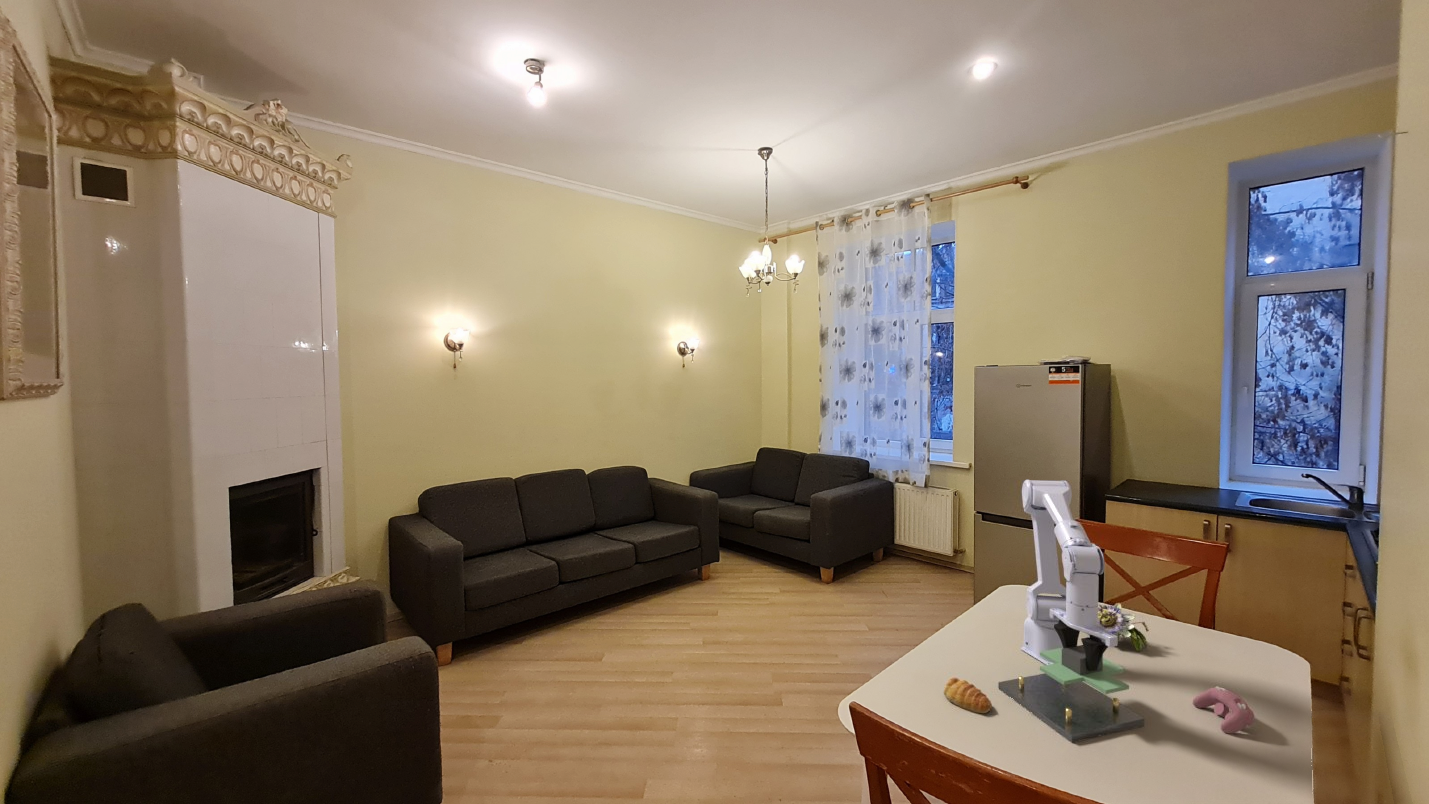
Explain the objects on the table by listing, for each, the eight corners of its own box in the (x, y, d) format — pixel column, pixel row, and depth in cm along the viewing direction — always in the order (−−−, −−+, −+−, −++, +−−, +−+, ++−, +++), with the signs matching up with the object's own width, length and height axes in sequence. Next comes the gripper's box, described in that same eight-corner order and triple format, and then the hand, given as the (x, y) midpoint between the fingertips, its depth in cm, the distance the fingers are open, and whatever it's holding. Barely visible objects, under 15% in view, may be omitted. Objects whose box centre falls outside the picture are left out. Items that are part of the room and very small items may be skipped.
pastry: (998, 708, 119) (998, 690, 118) (981, 720, 115) (981, 702, 115) (957, 688, 126) (957, 672, 126) (940, 699, 122) (939, 682, 122)
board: (1021, 658, 125) (1021, 640, 125) (1078, 647, 129) (1078, 629, 129) (1085, 698, 109) (1085, 677, 109) (1147, 684, 113) (1148, 664, 113)
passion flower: (1103, 663, 145) (1072, 619, 150) (1125, 645, 150) (1094, 602, 155) (1143, 656, 136) (1108, 609, 141) (1164, 637, 141) (1130, 592, 146)
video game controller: (1245, 744, 108) (1265, 714, 107) (1221, 732, 108) (1240, 702, 107) (1210, 713, 117) (1228, 685, 116) (1188, 702, 118) (1206, 674, 117)
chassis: (998, 688, 125) (998, 671, 125) (1063, 676, 130) (1063, 659, 130) (1071, 742, 107) (1071, 722, 107) (1143, 725, 111) (1144, 706, 111)
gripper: (1129, 613, 112) (1128, 678, 113) (1067, 587, 126) (1066, 645, 127) (1102, 618, 111) (1101, 684, 111) (1042, 590, 125) (1041, 649, 125)
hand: (1081, 663), depth 119 cm, fingers closed on board, 4 cm apart
